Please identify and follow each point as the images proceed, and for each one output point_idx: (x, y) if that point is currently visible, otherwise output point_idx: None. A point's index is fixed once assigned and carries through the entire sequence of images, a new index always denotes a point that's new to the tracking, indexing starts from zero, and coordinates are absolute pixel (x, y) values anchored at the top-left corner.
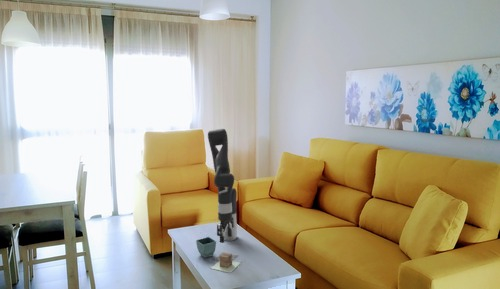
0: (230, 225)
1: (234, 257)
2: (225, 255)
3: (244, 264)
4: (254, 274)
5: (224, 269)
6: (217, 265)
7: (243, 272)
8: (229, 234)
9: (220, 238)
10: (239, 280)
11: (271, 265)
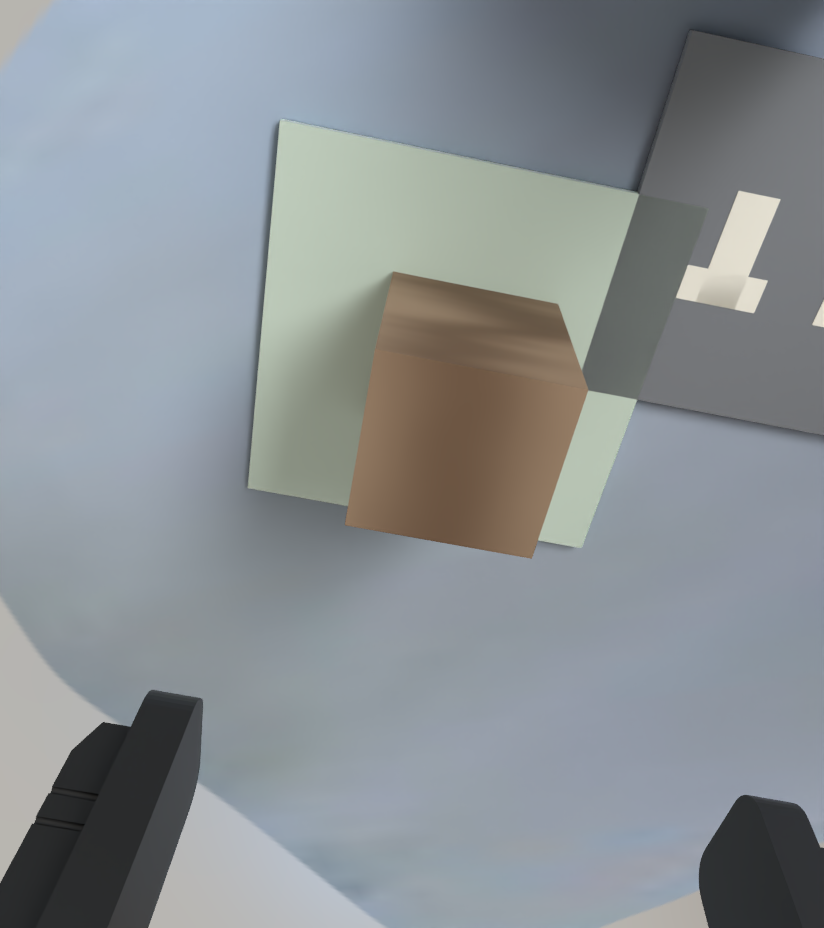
0: None
1: (786, 415)
2: (430, 463)
3: (560, 590)
4: (318, 729)
5: (309, 384)
6: (418, 218)
7: (326, 623)
8: (741, 917)
9: (20, 878)
10: (115, 624)
11: (579, 831)
